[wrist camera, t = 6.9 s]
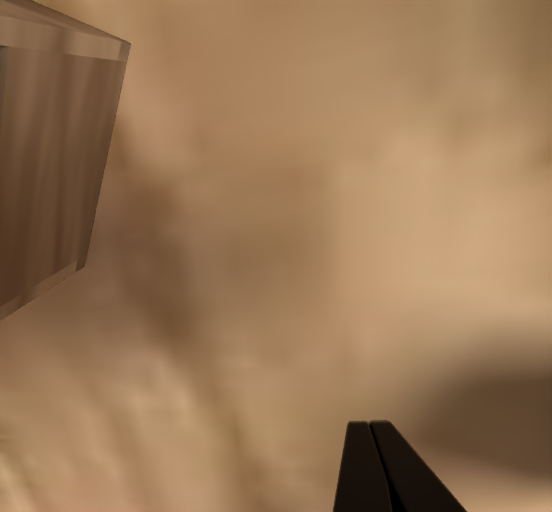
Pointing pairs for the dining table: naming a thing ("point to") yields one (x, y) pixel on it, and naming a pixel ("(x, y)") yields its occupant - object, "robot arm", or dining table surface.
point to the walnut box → (51, 143)
